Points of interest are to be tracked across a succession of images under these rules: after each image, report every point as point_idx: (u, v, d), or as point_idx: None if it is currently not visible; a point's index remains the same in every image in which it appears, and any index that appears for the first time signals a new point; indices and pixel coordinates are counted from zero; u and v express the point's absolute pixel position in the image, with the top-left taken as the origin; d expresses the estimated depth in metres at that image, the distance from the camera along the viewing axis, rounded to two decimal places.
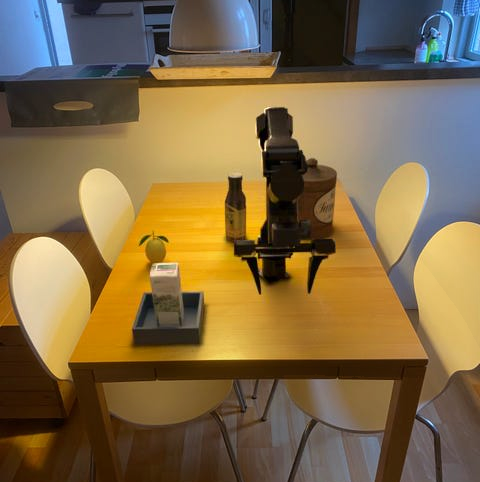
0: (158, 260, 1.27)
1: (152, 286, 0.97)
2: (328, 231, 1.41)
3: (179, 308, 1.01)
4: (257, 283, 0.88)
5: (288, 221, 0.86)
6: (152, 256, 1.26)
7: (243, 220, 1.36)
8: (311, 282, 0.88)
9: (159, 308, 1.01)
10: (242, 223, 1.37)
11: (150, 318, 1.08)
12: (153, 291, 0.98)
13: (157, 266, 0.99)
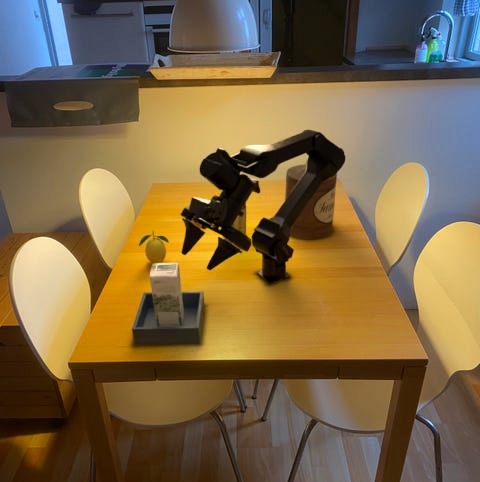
0: (158, 260, 1.27)
1: (152, 286, 0.97)
2: (328, 231, 1.41)
3: (179, 308, 1.01)
4: (184, 244, 1.05)
5: None
6: (152, 256, 1.26)
7: (243, 220, 1.36)
8: (211, 260, 0.99)
9: (159, 308, 1.01)
10: (242, 223, 1.37)
11: (150, 318, 1.08)
12: (153, 291, 0.98)
13: (157, 266, 0.99)
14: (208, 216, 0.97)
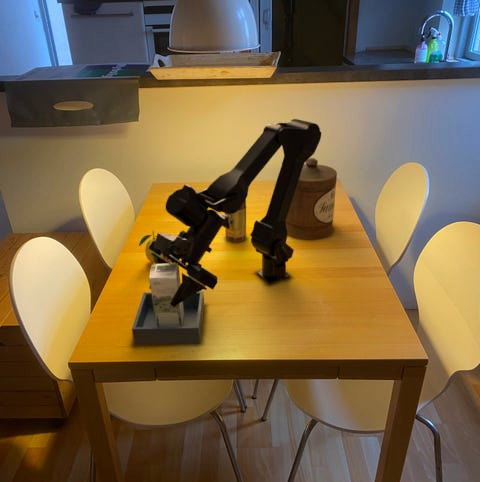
0: None
1: (152, 287, 0.97)
2: (328, 231, 1.41)
3: (179, 309, 1.01)
4: None
5: (186, 240, 0.98)
6: (152, 256, 1.26)
7: (243, 220, 1.36)
8: (175, 296, 0.97)
9: (159, 309, 1.00)
10: (242, 223, 1.37)
11: (150, 318, 1.08)
12: (153, 292, 0.98)
13: (156, 267, 0.99)
14: (173, 253, 0.95)
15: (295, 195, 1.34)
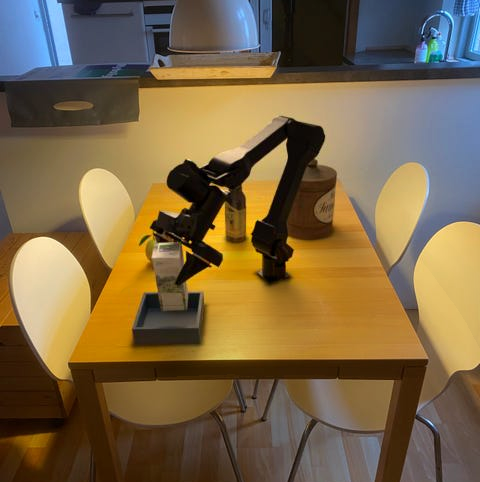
0: None
1: (154, 268, 0.94)
2: (328, 231, 1.41)
3: (183, 289, 0.98)
4: None
5: None
6: None
7: (243, 220, 1.36)
8: (179, 275, 0.95)
9: (162, 289, 0.98)
10: (242, 223, 1.37)
11: (150, 318, 1.08)
12: (156, 273, 0.95)
13: (159, 246, 0.96)
14: (176, 230, 0.92)
15: None
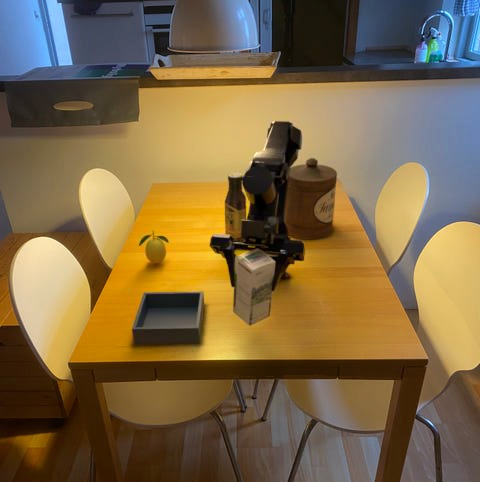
0: (158, 260, 1.27)
1: (253, 280, 0.89)
2: (328, 231, 1.41)
3: (271, 294, 0.95)
4: (230, 275, 0.94)
5: (262, 220, 0.93)
6: (152, 256, 1.26)
7: None
8: (275, 279, 0.92)
9: (255, 301, 0.93)
10: None
11: (150, 318, 1.08)
12: (253, 285, 0.90)
13: (245, 258, 0.91)
14: (266, 235, 0.89)
15: (295, 195, 1.34)
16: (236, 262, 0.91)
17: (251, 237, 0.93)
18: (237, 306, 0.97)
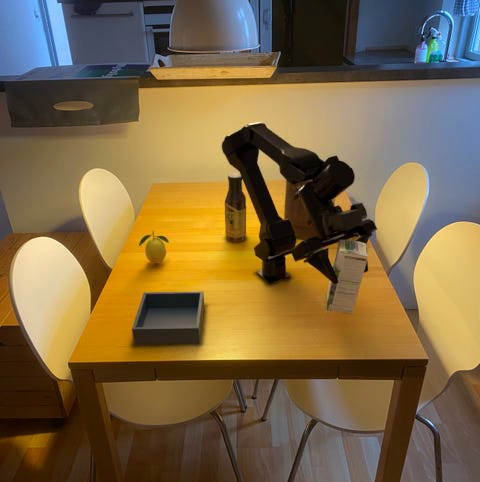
0: (158, 260, 1.27)
1: None
2: None
3: None
4: (333, 273, 0.94)
5: (336, 212, 0.95)
6: (152, 256, 1.26)
7: (243, 220, 1.36)
8: None
9: None
10: (242, 223, 1.37)
11: (150, 318, 1.08)
12: (363, 271, 0.94)
13: (348, 250, 0.92)
14: None
15: None
16: (341, 257, 0.92)
17: (335, 230, 0.94)
18: (336, 302, 0.98)
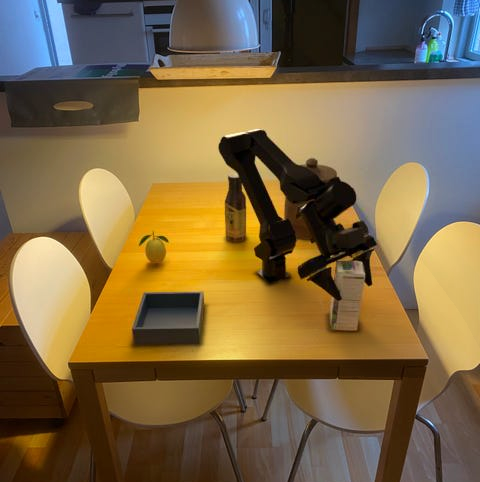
0: (158, 260, 1.27)
1: (363, 283, 0.97)
2: None
3: None
4: (336, 290, 0.96)
5: (338, 230, 0.98)
6: (152, 256, 1.26)
7: (243, 220, 1.36)
8: (370, 275, 1.01)
9: None
10: (242, 223, 1.37)
11: (150, 318, 1.08)
12: None
13: (346, 270, 0.96)
14: None
15: None
16: (340, 278, 0.96)
17: (339, 248, 0.98)
18: (340, 320, 1.01)
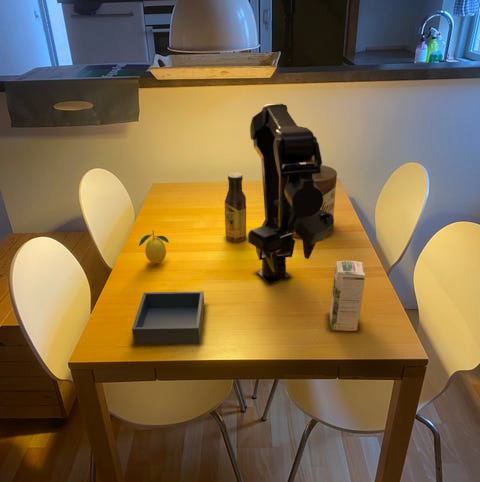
0: (158, 260, 1.27)
1: (363, 284, 0.97)
2: None
3: None
4: (275, 265, 0.98)
5: None
6: (152, 256, 1.26)
7: (243, 220, 1.36)
8: (311, 251, 1.02)
9: None
10: (242, 223, 1.37)
11: (150, 318, 1.08)
12: None
13: (346, 271, 0.96)
14: None
15: None
16: (340, 279, 0.96)
17: None
18: (340, 320, 1.01)
